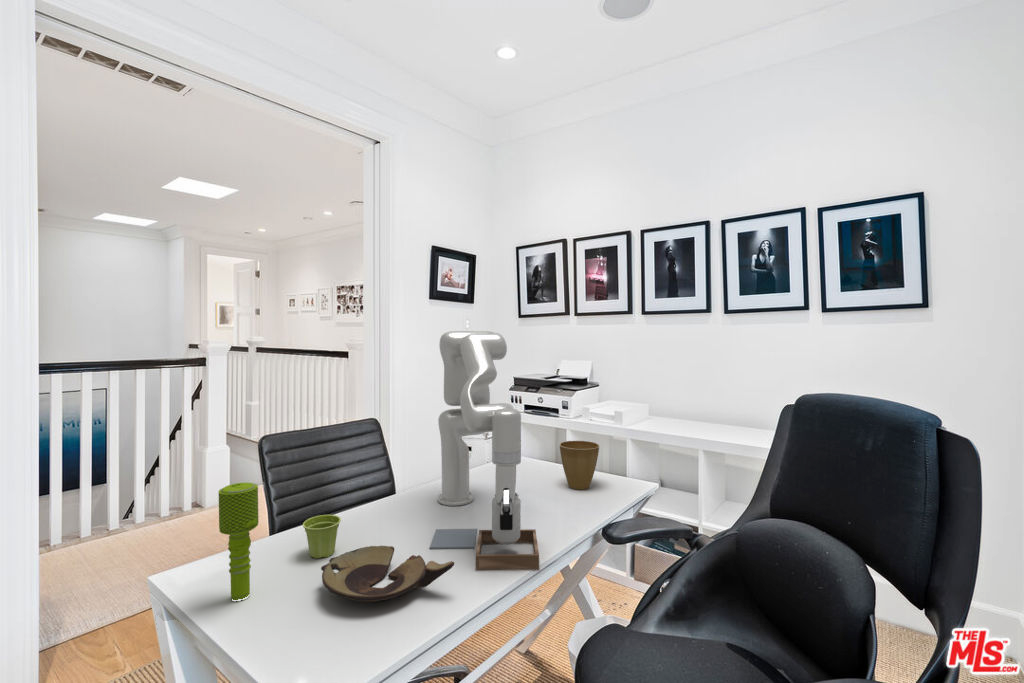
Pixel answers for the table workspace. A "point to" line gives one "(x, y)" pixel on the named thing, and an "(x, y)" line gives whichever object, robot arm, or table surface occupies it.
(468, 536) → the mat
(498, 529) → the can
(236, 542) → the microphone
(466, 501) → the robot arm
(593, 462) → the plant pot
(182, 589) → the table surface
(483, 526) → the table surface
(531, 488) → the table surface
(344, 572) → the broken ceramic bowl
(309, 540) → the plant pot
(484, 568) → the box frame
